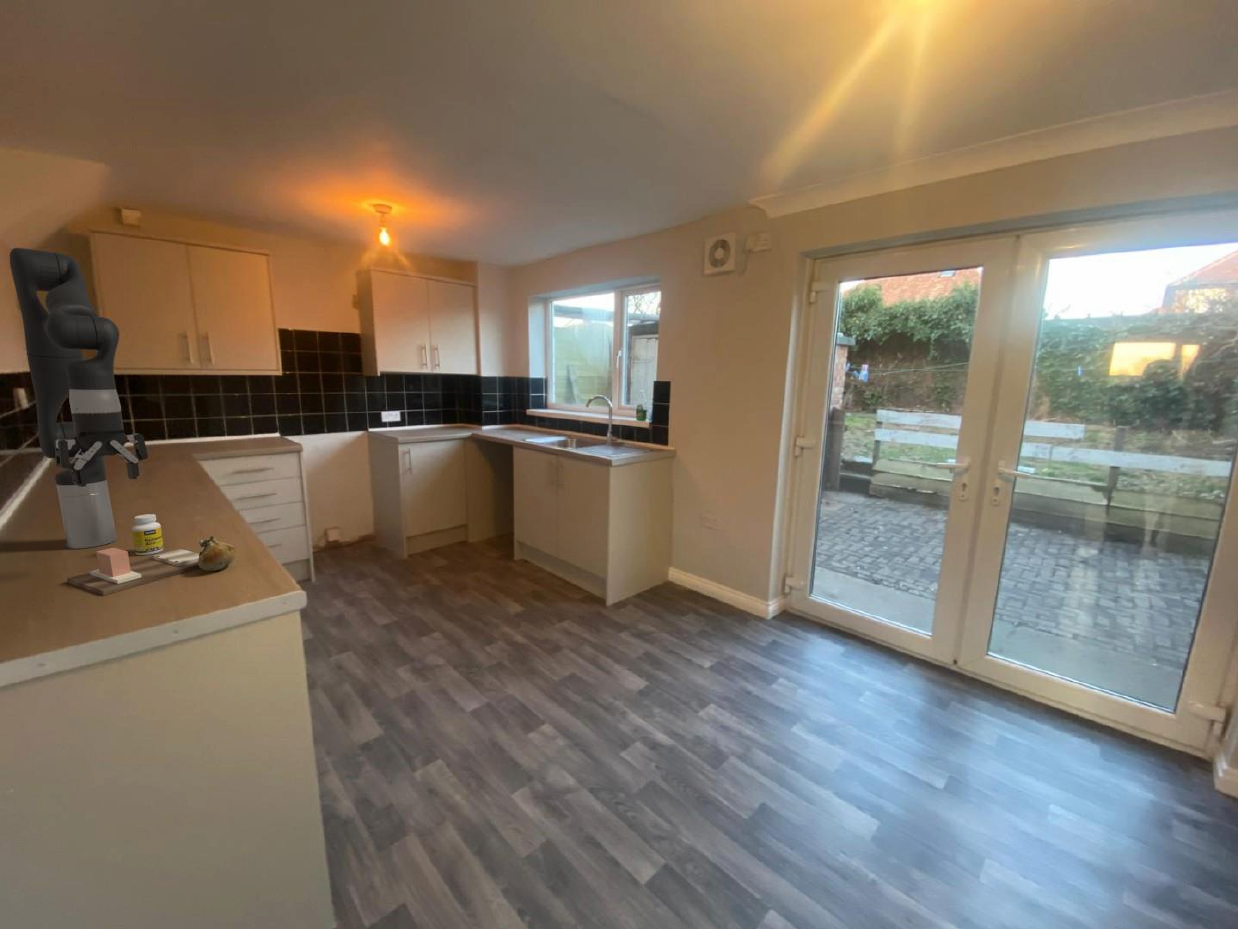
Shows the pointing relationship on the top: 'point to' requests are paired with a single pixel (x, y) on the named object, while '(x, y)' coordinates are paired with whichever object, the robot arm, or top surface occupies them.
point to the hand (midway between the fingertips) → (108, 482)
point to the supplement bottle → (147, 535)
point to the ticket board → (142, 571)
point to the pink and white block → (114, 566)
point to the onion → (215, 554)
